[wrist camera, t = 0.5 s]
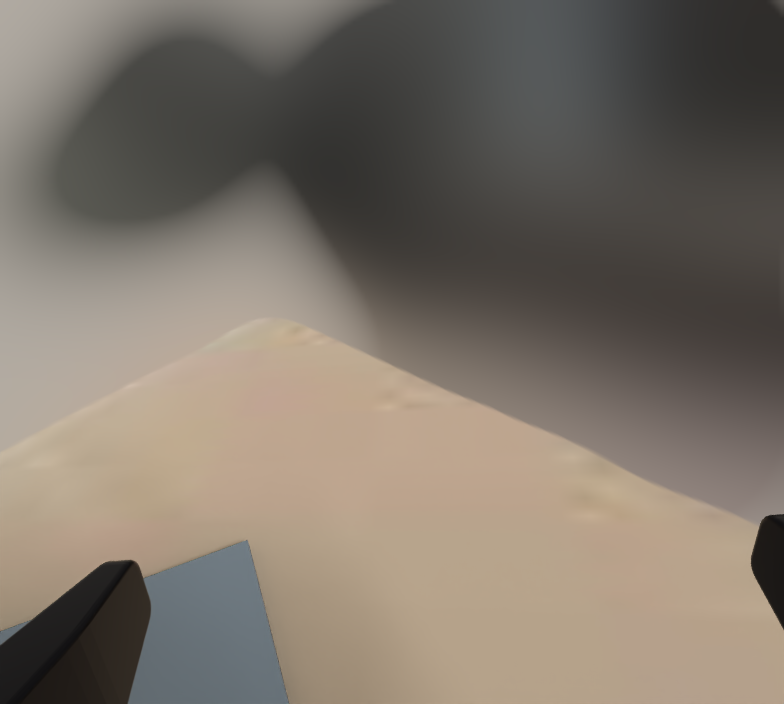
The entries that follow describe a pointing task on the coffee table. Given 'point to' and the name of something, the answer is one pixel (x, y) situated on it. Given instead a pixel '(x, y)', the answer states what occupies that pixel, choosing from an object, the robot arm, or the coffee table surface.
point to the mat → (206, 636)
